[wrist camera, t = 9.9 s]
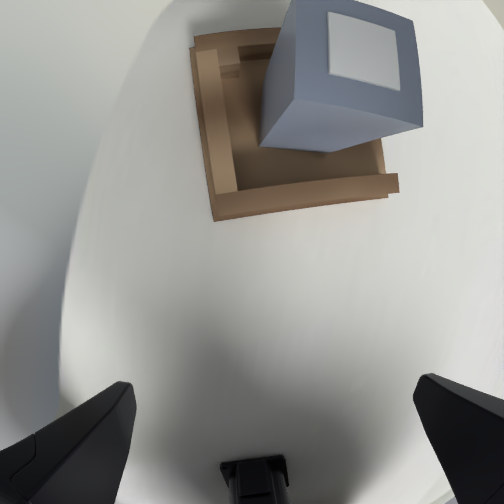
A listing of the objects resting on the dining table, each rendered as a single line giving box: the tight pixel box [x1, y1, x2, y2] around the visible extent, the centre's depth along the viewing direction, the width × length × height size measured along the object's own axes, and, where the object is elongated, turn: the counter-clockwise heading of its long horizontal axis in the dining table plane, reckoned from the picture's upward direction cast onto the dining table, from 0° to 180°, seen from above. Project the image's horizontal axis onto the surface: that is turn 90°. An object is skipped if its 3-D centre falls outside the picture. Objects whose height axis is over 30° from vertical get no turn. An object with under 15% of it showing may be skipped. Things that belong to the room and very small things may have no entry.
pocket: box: [189, 28, 400, 222], centre depth 16 cm, size 12×12×3 cm
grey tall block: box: [259, 0, 423, 154], centre depth 12 cm, size 4×4×11 cm
